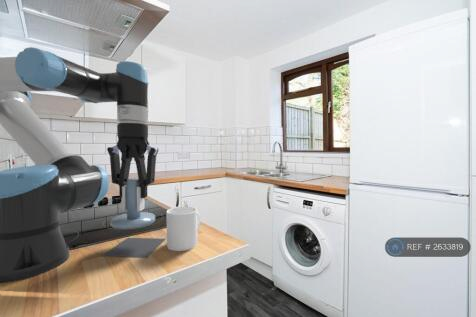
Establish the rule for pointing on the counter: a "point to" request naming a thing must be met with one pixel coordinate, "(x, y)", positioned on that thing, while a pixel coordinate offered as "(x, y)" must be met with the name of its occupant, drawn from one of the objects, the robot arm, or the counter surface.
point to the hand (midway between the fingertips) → (133, 209)
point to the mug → (182, 228)
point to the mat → (134, 247)
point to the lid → (132, 211)
